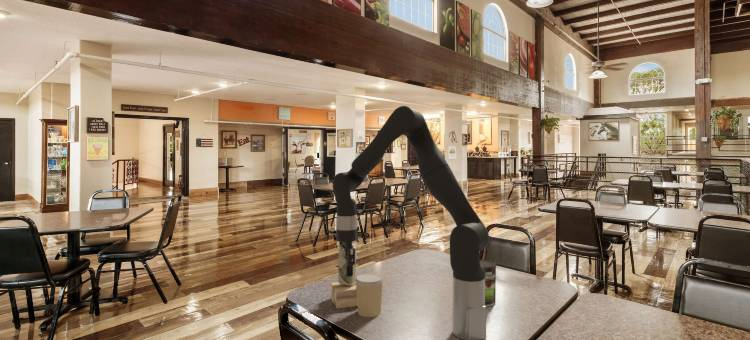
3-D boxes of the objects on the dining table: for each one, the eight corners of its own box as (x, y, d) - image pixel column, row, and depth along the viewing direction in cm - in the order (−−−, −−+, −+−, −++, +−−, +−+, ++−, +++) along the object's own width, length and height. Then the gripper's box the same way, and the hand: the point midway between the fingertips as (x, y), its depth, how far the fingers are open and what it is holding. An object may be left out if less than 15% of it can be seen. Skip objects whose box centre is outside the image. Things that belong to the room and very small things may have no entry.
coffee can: (501, 305, 134) (502, 265, 133) (475, 308, 131) (476, 268, 131) (485, 294, 144) (486, 258, 143) (461, 297, 141) (461, 260, 141)
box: (337, 283, 137) (337, 248, 136) (344, 280, 141) (344, 245, 140) (350, 285, 135) (350, 250, 134) (356, 282, 138) (356, 247, 138)
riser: (364, 304, 135) (364, 288, 135) (336, 308, 132) (336, 291, 132) (356, 294, 144) (356, 279, 144) (330, 298, 141) (330, 282, 141)
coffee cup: (367, 304, 135) (367, 271, 135) (388, 311, 129) (388, 276, 129) (350, 313, 128) (349, 278, 127) (371, 321, 122) (371, 284, 121)
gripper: (362, 230, 131) (362, 277, 132) (351, 223, 145) (351, 266, 146) (341, 232, 129) (341, 280, 130) (332, 224, 143) (332, 268, 143)
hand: (347, 272), depth 138 cm, fingers closed on box, 6 cm apart
